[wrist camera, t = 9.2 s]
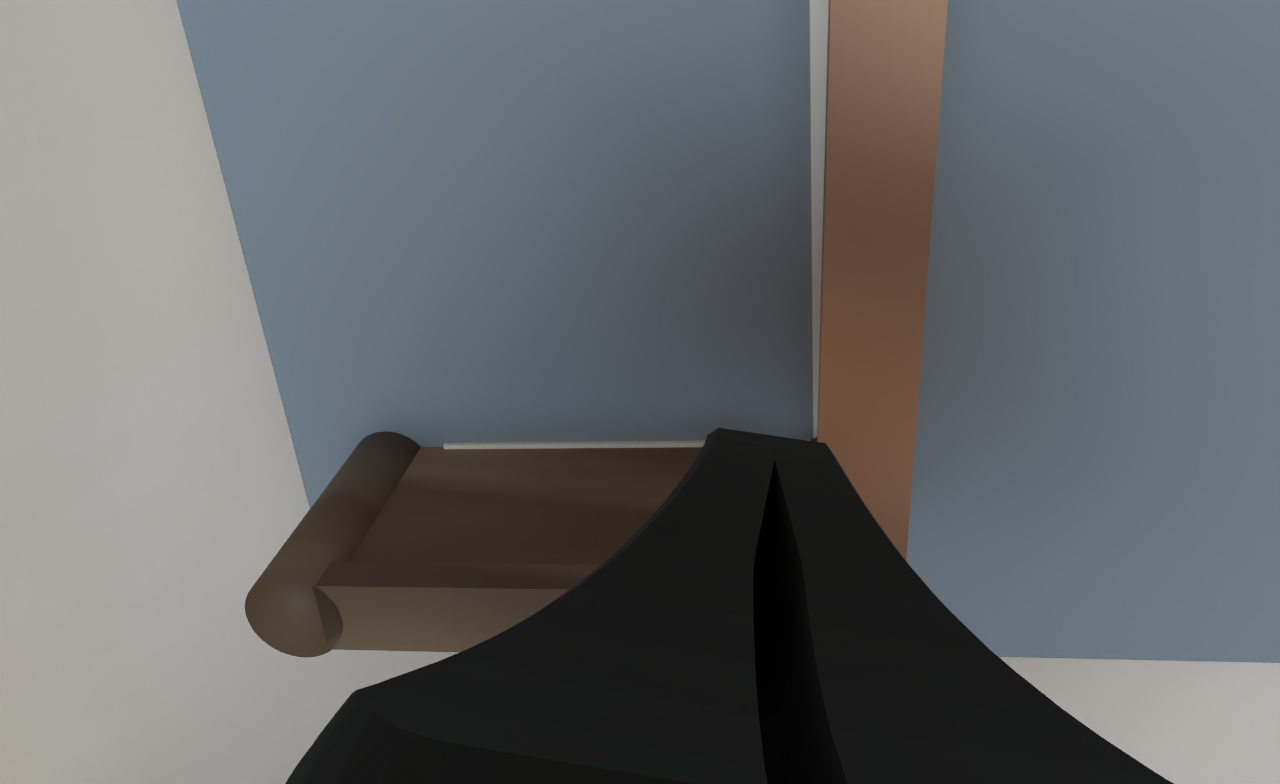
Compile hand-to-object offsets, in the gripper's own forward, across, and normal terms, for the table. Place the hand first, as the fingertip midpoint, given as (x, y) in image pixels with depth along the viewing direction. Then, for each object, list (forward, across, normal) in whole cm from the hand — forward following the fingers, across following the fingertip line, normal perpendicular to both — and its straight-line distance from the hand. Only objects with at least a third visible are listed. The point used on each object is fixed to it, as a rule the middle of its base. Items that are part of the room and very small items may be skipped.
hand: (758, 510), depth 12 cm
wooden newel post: (+9, -1, -3) cm, 9 cm away
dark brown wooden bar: (+9, +3, +5) cm, 11 cm away
